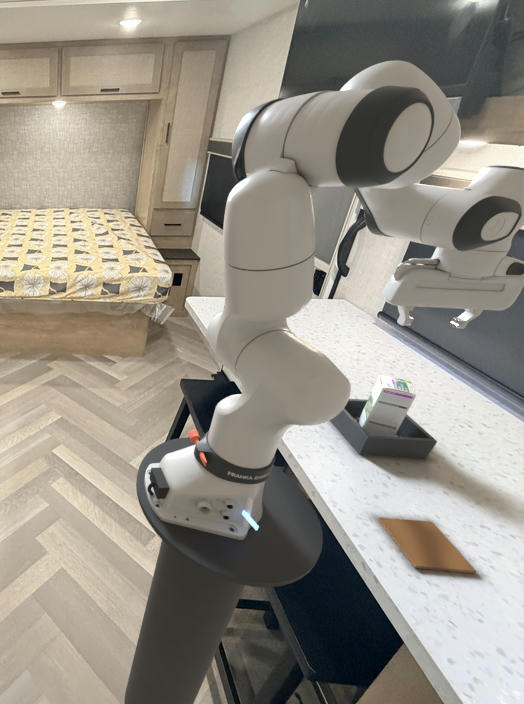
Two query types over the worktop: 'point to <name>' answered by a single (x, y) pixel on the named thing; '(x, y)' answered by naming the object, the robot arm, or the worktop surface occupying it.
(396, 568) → the worktop surface
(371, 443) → the bin
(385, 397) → the syrup box
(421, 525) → the mat
